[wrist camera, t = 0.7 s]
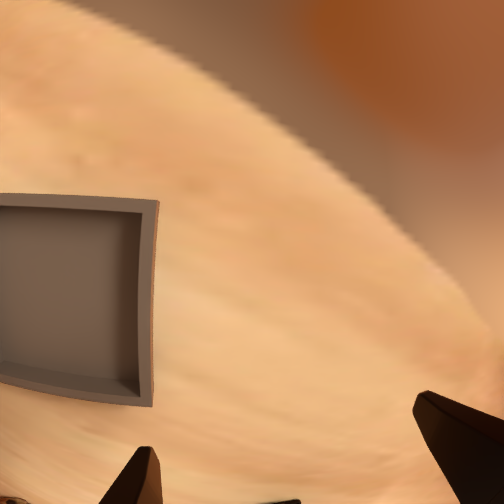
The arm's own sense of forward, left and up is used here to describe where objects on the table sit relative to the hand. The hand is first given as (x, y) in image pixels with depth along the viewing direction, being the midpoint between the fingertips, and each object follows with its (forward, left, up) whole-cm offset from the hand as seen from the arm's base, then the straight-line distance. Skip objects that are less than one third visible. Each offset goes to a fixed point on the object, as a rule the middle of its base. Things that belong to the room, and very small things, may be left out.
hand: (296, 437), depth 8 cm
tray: (0, +12, -14) cm, 19 cm away
